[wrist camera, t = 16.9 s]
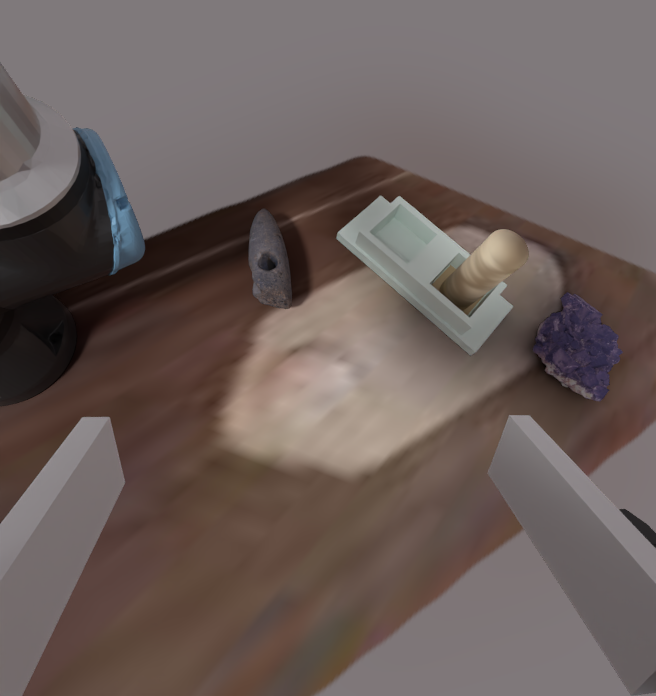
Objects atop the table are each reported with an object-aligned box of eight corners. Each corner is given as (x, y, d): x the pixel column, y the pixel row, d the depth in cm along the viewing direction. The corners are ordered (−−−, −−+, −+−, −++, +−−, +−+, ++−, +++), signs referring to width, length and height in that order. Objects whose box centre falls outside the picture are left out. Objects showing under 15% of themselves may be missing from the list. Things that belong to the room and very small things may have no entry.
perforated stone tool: (246, 226, 54) (242, 193, 48) (282, 225, 55) (283, 192, 49) (254, 320, 50) (250, 298, 43) (293, 317, 51) (294, 295, 44)
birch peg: (433, 294, 52) (480, 248, 41) (451, 271, 54) (501, 221, 43) (461, 317, 52) (515, 276, 41) (478, 293, 54) (535, 248, 42)
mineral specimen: (616, 342, 57) (643, 332, 53) (579, 406, 52) (605, 400, 48) (557, 294, 58) (579, 280, 54) (516, 352, 53) (536, 342, 49)
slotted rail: (336, 238, 55) (340, 219, 51) (378, 201, 59) (386, 181, 54) (470, 355, 52) (487, 345, 48) (507, 310, 55) (526, 297, 51)
